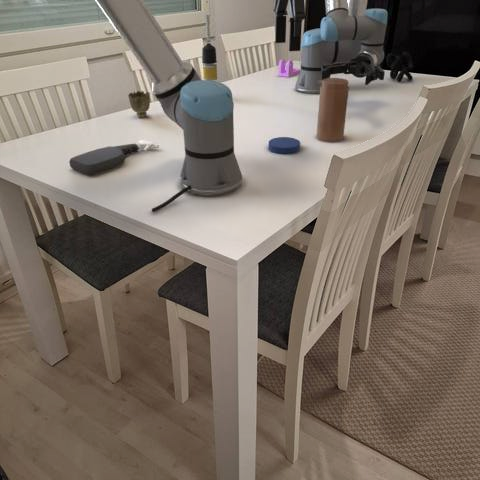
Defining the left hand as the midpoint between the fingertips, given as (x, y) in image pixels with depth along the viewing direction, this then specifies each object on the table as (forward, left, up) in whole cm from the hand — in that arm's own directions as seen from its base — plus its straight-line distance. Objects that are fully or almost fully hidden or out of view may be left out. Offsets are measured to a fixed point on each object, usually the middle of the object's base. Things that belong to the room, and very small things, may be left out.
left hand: (287, 46), depth 116 cm
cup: (+16, +57, -28) cm, 65 cm away
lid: (0, 0, -26) cm, 26 cm away
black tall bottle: (+46, +42, -28) cm, 68 cm away
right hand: (+22, -13, -12) cm, 28 cm away
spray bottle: (-22, +42, -28) cm, 55 cm away
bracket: (+98, +23, -28) cm, 105 cm away
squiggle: (+99, -28, -28) cm, 106 cm away
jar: (+13, -11, -28) cm, 33 cm away
